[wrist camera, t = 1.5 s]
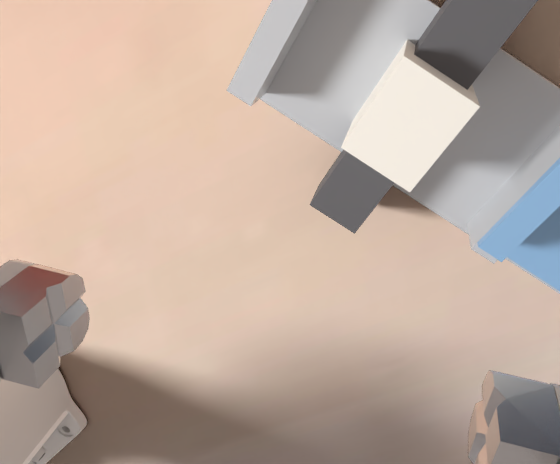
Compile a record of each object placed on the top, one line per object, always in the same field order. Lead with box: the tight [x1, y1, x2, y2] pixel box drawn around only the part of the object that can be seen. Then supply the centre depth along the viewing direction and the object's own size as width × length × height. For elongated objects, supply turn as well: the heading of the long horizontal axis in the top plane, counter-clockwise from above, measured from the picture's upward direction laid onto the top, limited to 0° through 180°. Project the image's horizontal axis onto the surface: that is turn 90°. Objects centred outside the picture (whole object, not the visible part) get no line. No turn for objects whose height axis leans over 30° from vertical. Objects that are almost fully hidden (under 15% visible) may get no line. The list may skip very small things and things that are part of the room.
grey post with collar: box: [310, 0, 538, 234], centre depth 26 cm, size 14×4×5 cm, turn 150°
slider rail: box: [227, 0, 560, 294], centre depth 27 cm, size 9×32×4 cm, turn 60°
